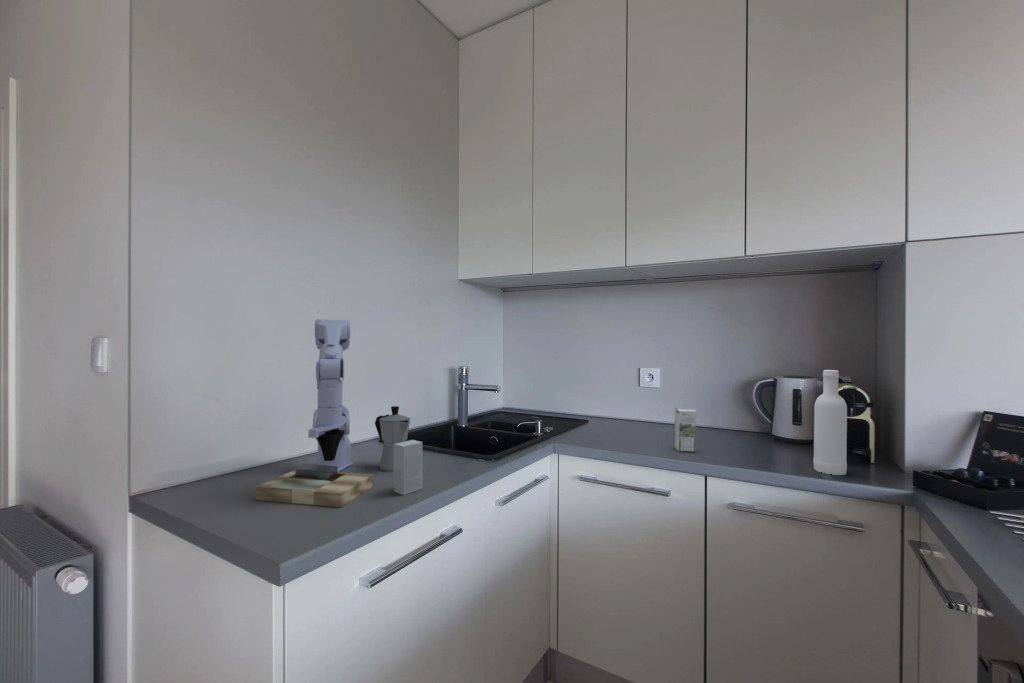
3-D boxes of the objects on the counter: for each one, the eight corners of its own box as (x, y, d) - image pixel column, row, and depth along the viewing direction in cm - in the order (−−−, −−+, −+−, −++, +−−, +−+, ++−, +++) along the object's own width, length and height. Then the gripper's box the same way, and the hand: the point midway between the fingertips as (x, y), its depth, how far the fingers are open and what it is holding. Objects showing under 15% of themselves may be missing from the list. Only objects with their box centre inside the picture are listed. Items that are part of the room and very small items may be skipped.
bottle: (846, 477, 119) (847, 371, 119) (812, 471, 124) (813, 370, 124) (846, 470, 126) (847, 370, 126) (814, 465, 131) (815, 368, 131)
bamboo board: (296, 480, 112) (296, 467, 112) (372, 486, 108) (373, 473, 108) (255, 499, 98) (255, 485, 98) (341, 507, 95) (341, 492, 95)
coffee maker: (420, 467, 125) (421, 406, 125) (397, 474, 118) (397, 410, 118) (387, 459, 134) (387, 402, 134) (363, 465, 126) (364, 405, 126)
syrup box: (690, 448, 151) (690, 407, 151) (696, 452, 145) (696, 410, 145) (674, 447, 151) (674, 407, 151) (678, 452, 146) (679, 410, 146)
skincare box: (412, 485, 109) (412, 439, 109) (423, 489, 107) (423, 441, 107) (392, 491, 105) (392, 443, 105) (402, 495, 102) (403, 446, 102)
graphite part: (305, 472, 109) (306, 464, 109) (337, 474, 108) (337, 466, 108) (295, 477, 106) (295, 468, 106) (328, 479, 104) (328, 471, 104)
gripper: (331, 401, 114) (331, 451, 114) (296, 410, 100) (296, 467, 100) (356, 402, 113) (355, 453, 113) (324, 411, 99) (323, 469, 99)
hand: (329, 460), depth 106 cm, fingers closed
